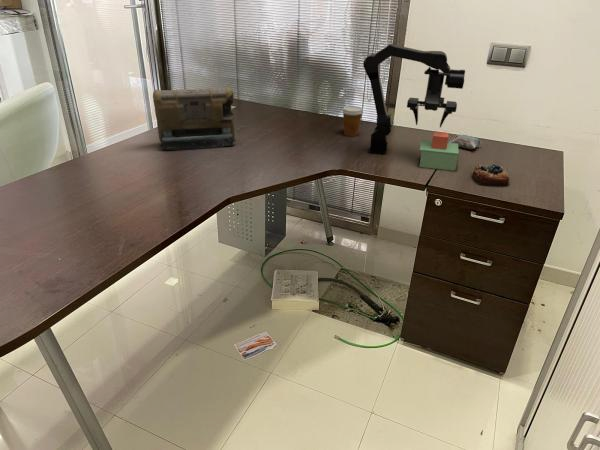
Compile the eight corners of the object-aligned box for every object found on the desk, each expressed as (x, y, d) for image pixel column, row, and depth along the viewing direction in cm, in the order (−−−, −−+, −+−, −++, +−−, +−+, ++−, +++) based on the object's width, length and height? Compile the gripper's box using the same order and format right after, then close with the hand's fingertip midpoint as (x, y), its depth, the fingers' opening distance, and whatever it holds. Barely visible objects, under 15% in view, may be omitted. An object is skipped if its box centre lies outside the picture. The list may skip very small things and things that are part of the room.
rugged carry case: (232, 136, 208) (229, 80, 196) (238, 146, 197) (235, 87, 184) (159, 143, 199) (150, 85, 187) (161, 154, 188) (152, 92, 175)
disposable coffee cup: (364, 133, 214) (366, 107, 208) (355, 138, 207) (357, 112, 201) (346, 129, 219) (348, 104, 213) (337, 134, 211) (338, 109, 206)
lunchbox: (419, 166, 178) (421, 151, 175) (420, 156, 188) (423, 142, 185) (455, 170, 175) (458, 155, 172) (455, 160, 185) (457, 145, 182)
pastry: (469, 173, 173) (472, 159, 170) (500, 174, 173) (504, 159, 170) (477, 185, 163) (481, 170, 160) (511, 186, 163) (515, 171, 160)
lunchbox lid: (419, 151, 175) (419, 149, 175) (421, 141, 185) (421, 140, 185) (458, 155, 172) (458, 153, 172) (457, 145, 182) (458, 143, 181)
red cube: (431, 148, 176) (433, 135, 174) (431, 143, 181) (433, 131, 179) (446, 149, 175) (448, 137, 173) (446, 144, 180) (448, 132, 177)
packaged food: (473, 153, 192) (476, 141, 190) (447, 146, 199) (449, 135, 196) (481, 148, 198) (484, 137, 196) (455, 142, 205) (458, 131, 202)
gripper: (408, 89, 170) (402, 129, 178) (459, 93, 166) (451, 134, 173) (411, 82, 180) (405, 121, 187) (460, 86, 175) (452, 126, 183)
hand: (428, 126), depth 182 cm, fingers open, 9 cm apart
